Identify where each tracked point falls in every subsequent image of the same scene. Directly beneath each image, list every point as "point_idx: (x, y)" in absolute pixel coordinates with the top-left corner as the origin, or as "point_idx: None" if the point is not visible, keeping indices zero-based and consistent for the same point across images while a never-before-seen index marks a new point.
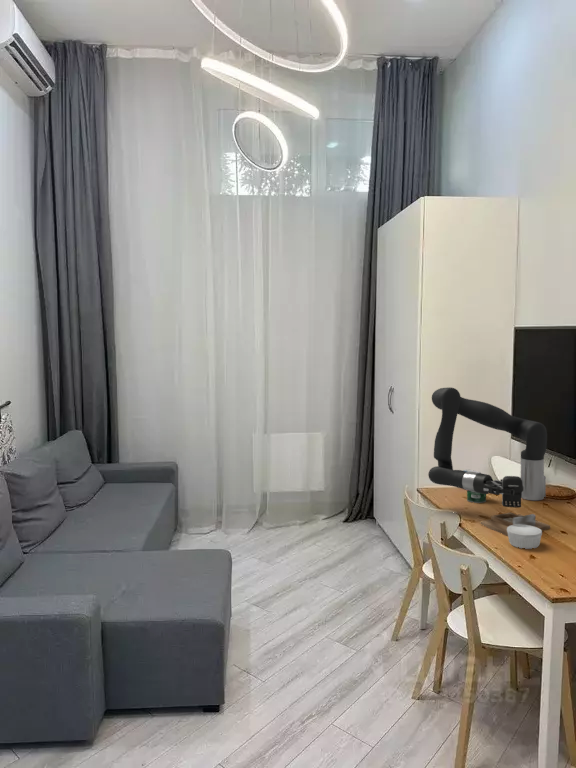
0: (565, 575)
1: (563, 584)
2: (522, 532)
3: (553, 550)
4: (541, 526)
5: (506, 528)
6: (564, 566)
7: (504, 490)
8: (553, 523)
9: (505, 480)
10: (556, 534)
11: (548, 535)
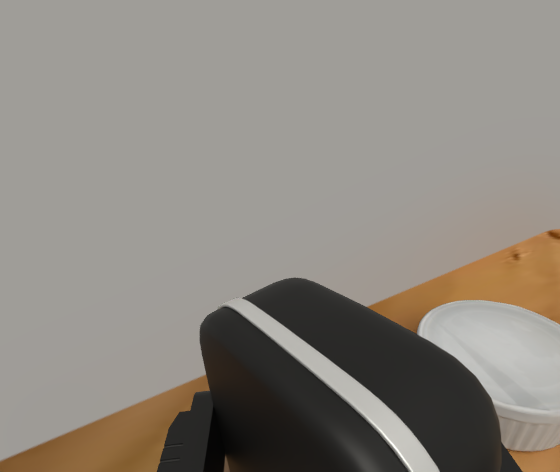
0: (506, 254)
1: (540, 242)
2: (534, 330)
3: (421, 319)
4: None
5: None
6: (473, 270)
7: (511, 466)
8: (134, 463)
9: (483, 391)
10: None
11: None
